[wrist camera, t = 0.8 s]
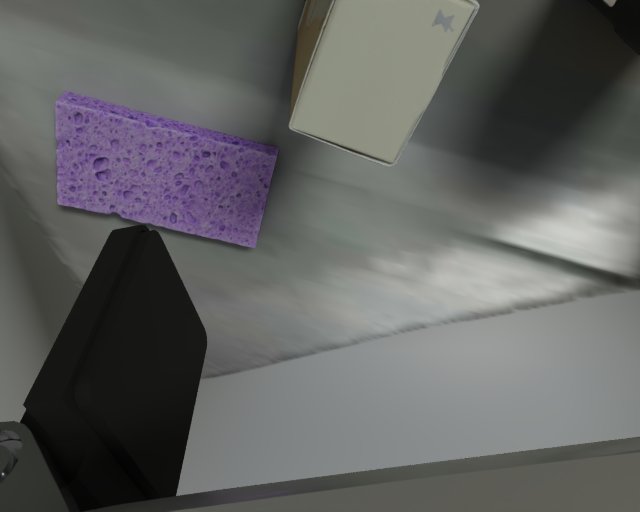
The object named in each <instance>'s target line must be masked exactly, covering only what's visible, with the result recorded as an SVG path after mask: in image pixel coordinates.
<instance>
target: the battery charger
mask: <svg viewBox="0 0 640 512" xmlns="http://www.w3.org/2000/svg"><path fill="white" fill-rule="evenodd" d="M589 1H590V2H591V3H592V4H593V5H594V6H595V7H596V8H597V9H599V10H600V11H601V12H602V13H603V14H604V15H605V16H606V17H607V18H608V19H610V21H612V24H613V25H614V27H615V31H616V33H617V34H618V35H619V36H620V37H621V38H622V39H623V41H624V42H625V43H626V44H628V45H629V46H630V47H631V48H632V49H633V50H634V51H635V52H636V53H637V54H639V55H640V0H589Z"/></svg>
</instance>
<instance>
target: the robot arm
mask: <svg viewBox="0 0 640 512" xmlns="http://www.w3.org/2000/svg"><path fill="white" fill-rule="evenodd" d="M206 348H207V336H206V331H205V328H204V326H203V324H202V322H201V320H200V318H199V316H198V314H197V311H196V309H195V307H194V305H193V303H192V301H191V299H190V297H189V295H188V293H187V290H186V288H185V286H184V284H183V282H182V280H181V278H180V276H179V274H178V272H177V269H176V267H175V265H174V263H173V261H172V259H171V257H170V255H169V253H168V251H167V248H166V246H165V244H164V242H163V240H162V238H161V236H160V234H159V233H158V232H157V231H155V230H152V231H150V230H149V229H148V228H147V227H146V226H145V225H137V226H132V227H126V228H121V229H116V230H113V231H112V232H111V233H110V235H109V237H108V239H107V241H106V243H105V245H104V247H103V249H102V251H101V253H100V255H99V257H98V259H97V260H96V262H95V264H94V266H93V268H92V270H91V272H90V274H89V276H88V278H87V280H86V282H85V284H84V286H83V288H82V290H81V292H80V294H79V296H78V298H77V300H76V302H75V304H74V306H73V308H72V310H71V312H70V314H69V315H68V317H67V319H66V322H65V323H64V325H63V327H62V329H61V331H60V333H59V335H58V337H57V339H56V341H55V343H54V345H53V347H52V349H51V351H50V353H49V355H48V357H47V359H46V361H45V363H44V365H43V366H42V369H41V370H40V372H39V374H38V376H37V378H36V380H35V382H34V384H33V386H32V388H31V390H30V392H29V394H28V396H27V398H26V400H25V402H24V404H23V405H24V407H25V408H26V412H25V413H24V415H23V417H22V419H21V421H20V423H19V422H15V421H9V422H0V512H640V437H635V438H626V439H618V440H609V441H602V442H594V443H585V444H577V445H569V446H561V447H553V448H544V449H537V450H529V451H521V452H512V453H504V454H496V455H488V456H480V457H473V458H465V459H456V460H448V461H440V462H432V463H424V464H416V465H408V466H401V467H393V468H384V469H376V470H369V471H361V472H353V473H345V474H339V475H330V476H322V477H315V478H307V479H299V480H292V481H284V482H276V483H268V484H261V485H253V486H245V487H237V488H230V489H222V490H215V491H208V492H202V493H194V494H188V495H181V496H176V493H177V488H178V484H179V479H180V473H181V469H182V464H183V459H184V455H185V450H186V445H187V440H188V435H189V430H190V426H191V421H192V416H193V411H194V406H195V401H196V397H197V392H198V387H199V382H200V377H201V372H202V368H203V363H204V358H205V353H206Z"/></svg>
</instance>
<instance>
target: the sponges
mask: <svg viewBox="0 0 640 512" xmlns="http://www.w3.org/2000/svg"><path fill="white" fill-rule="evenodd" d="M55 105H56V113H55V114H56V123H55V127H56V140H57V141H58V148H57V150H56V154H57V162H56V164H57V166H58V171H57V175H58V177H57V180H58V182H57V194H58V197H57V203H58V204H59V205H64V206H72V207H76V208H82V209H85V210H88V211H93V212H100V213H104V214H110V213H116V214H119V215H121V217H122V218H126V219H131V220H134V221H137V222H140V223H151V224H153V225H155V226H163V227H165V228H169V229H172V230H176V231H182V232H185V233H189V234H196V235H199V236H203V237H207V238H211V239H218V240H222V241H226V242H229V243H235V244H239V245H241V246H246V247H251V248H255V247H256V243H257V239H258V235H259V230H260V227H261V222H262V217H263V213H264V209H265V205H266V201H267V196H268V192H269V187H270V183H271V179H272V175H273V171H274V166H275V163H276V159H277V155H278V151H279V148H278V147H274V146H270V145H263V144H261V143H258V142H255V141H250V140H245V139H242V138H239V137H236V136H229V135H226V134H223V133H220V132H215V131H212V130H208V129H203V128H200V127H197V126H193V125H189V124H185V123H182V122H178V121H174V120H171V119H167V118H163V117H159V116H155V115H151V114H149V113H145V112H138V111H135V110H131V109H130V108H127V107H123V106H119V105H116V104H112V103H108V102H104V101H102V100H98V99H95V98H90V97H87V96H83V95H79V94H74V93H71V92H68V91H66V92H65V93H63V94H62V95H61V96H60V98H59V99H57V100H56V101H55Z"/></svg>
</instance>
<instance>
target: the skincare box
mask: <svg viewBox="0 0 640 512" xmlns="http://www.w3.org/2000/svg"><path fill="white" fill-rule="evenodd" d="M478 9H479V3H478V2H477V1H476V0H306V2H305V5H304V8H303V11H302V15H301V18H300V21H299V25H298V35H297V47H296V56H295V68H294V77H293V86H292V96H291V106H290V116H289V126H288V127H289V129H290V130H292V131H295V132H298V133H300V134H303V135H306V136H308V137H310V138H313V139H315V140H317V141H320V142H323V143H325V144H328V145H330V146H333V147H335V148H338V149H340V150H343V151H346V152H349V153H351V154H354V155H356V156H359V157H361V158H364V159H367V160H370V161H373V162H375V163H378V164H381V165H384V166H387V167H391V166H393V165H395V164H396V163H397V161H398V159H399V157H400V156H401V154H402V152H403V150H404V148H405V147H406V145H407V143H408V141H409V139H410V137H411V135H412V134H413V132H414V130H415V128H416V126H417V124H418V122H419V121H420V118H421V117H422V115H423V113H424V112H425V110H426V108H427V106H428V104H429V103H430V101H431V99H432V97H433V95H434V93H435V91H436V89H437V87H438V85H439V83H440V81H441V79H442V77H443V75H444V73H445V71H446V69H447V68H448V66H449V64H450V62H451V60H452V58H453V57H454V55H455V53H456V51H457V49H458V47H459V45H460V43H461V41H462V40H463V38H464V36H465V34H466V32H467V30H468V28H469V26H470V24H471V22H472V20H473V18H474V17H475V15H476V13H477V12H478Z"/></svg>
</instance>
